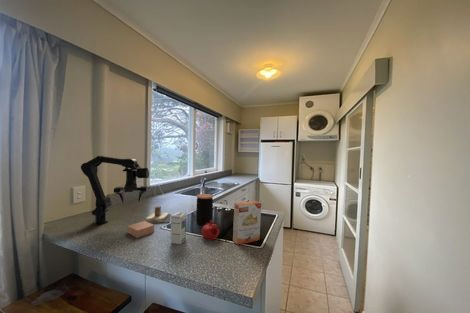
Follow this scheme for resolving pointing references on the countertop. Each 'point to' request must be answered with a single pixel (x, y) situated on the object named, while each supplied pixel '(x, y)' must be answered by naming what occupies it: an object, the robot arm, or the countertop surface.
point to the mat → (159, 222)
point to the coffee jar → (204, 209)
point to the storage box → (140, 229)
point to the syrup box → (178, 227)
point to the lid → (157, 215)
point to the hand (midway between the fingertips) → (131, 202)
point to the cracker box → (246, 222)
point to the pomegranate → (210, 231)
